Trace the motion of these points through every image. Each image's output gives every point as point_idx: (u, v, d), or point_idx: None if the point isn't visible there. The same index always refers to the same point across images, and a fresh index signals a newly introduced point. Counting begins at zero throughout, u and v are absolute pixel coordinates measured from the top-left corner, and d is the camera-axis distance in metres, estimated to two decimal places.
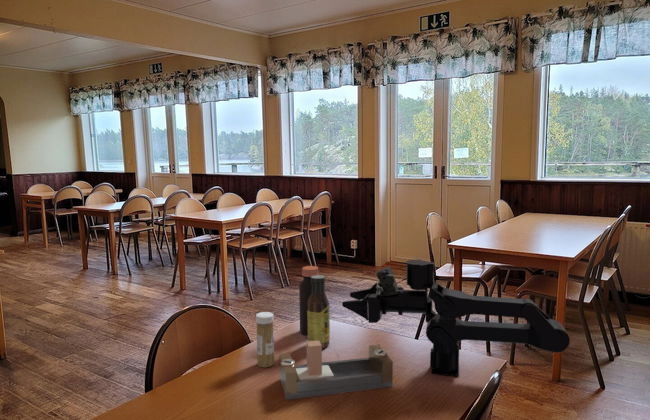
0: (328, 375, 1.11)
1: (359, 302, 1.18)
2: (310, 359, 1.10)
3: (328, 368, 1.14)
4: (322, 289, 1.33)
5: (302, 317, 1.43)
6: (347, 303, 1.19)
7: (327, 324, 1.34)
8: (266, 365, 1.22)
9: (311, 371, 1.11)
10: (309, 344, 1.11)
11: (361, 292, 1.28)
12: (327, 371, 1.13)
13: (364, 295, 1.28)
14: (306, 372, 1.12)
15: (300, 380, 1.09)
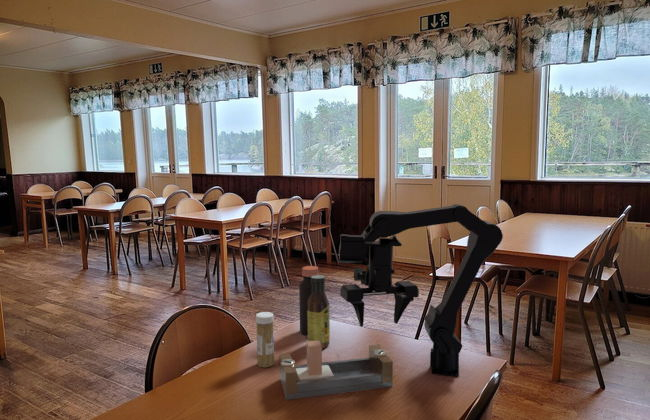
0: (328, 375, 1.11)
1: (354, 307, 1.18)
2: (310, 359, 1.10)
3: (328, 368, 1.14)
4: (322, 289, 1.33)
5: (302, 317, 1.43)
6: (358, 320, 1.18)
7: (327, 324, 1.34)
8: (266, 365, 1.22)
9: (311, 371, 1.11)
10: (309, 344, 1.11)
11: (395, 310, 1.21)
12: (327, 371, 1.13)
13: (396, 308, 1.20)
14: (306, 372, 1.12)
15: (300, 380, 1.09)
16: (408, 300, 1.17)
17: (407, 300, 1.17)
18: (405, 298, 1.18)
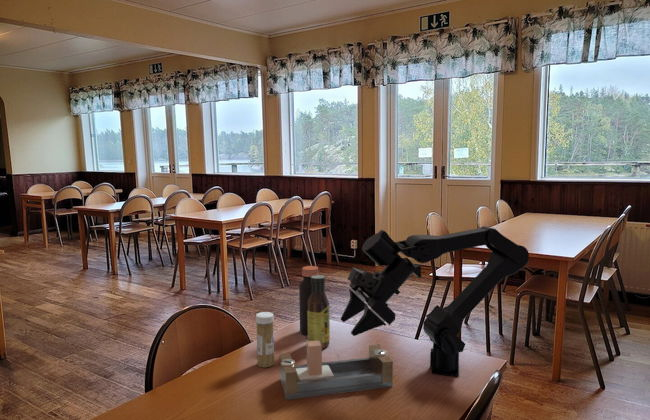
0: (328, 375, 1.11)
1: (365, 319, 1.07)
2: (310, 359, 1.10)
3: (328, 368, 1.14)
4: (322, 289, 1.33)
5: (302, 317, 1.43)
6: (356, 329, 1.08)
7: (327, 324, 1.34)
8: (266, 365, 1.22)
9: (311, 371, 1.11)
10: (309, 344, 1.11)
11: (348, 309, 1.18)
12: (327, 371, 1.13)
13: (352, 309, 1.18)
14: (306, 372, 1.12)
15: (300, 380, 1.09)
16: None
17: None
18: (365, 303, 1.20)
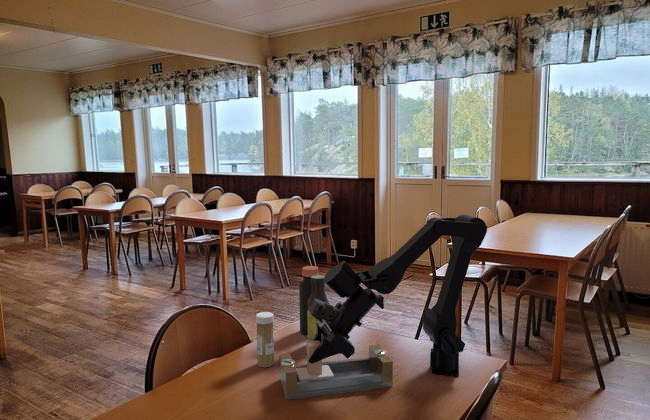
0: (328, 375, 1.11)
1: (322, 347, 1.09)
2: None
3: (328, 368, 1.14)
4: (322, 289, 1.33)
5: (302, 317, 1.43)
6: (313, 357, 1.10)
7: None
8: (266, 365, 1.22)
9: (311, 371, 1.11)
10: (309, 344, 1.11)
11: None
12: (327, 371, 1.13)
13: None
14: (306, 372, 1.12)
15: (300, 380, 1.09)
16: None
17: None
18: None
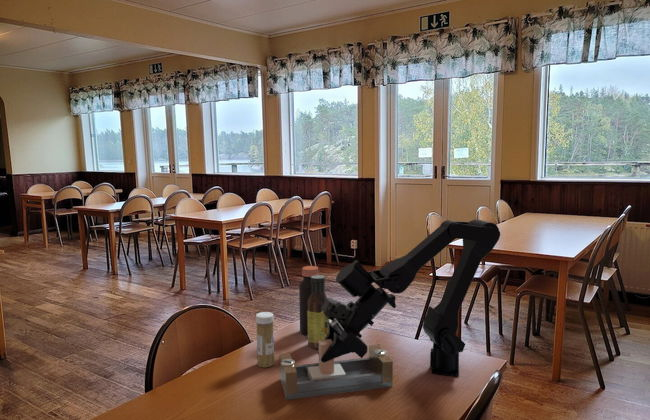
0: (341, 373, 1.12)
1: (334, 346, 1.10)
2: None
3: (340, 367, 1.15)
4: (322, 289, 1.33)
5: (302, 317, 1.43)
6: (325, 356, 1.10)
7: None
8: (266, 365, 1.22)
9: (323, 370, 1.12)
10: (321, 343, 1.12)
11: None
12: (339, 369, 1.14)
13: None
14: (318, 371, 1.13)
15: (312, 379, 1.10)
16: None
17: None
18: None
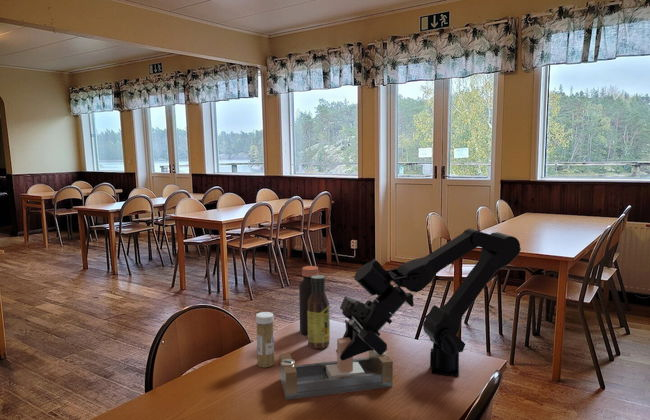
0: (359, 371, 1.13)
1: (353, 344, 1.11)
2: None
3: (358, 365, 1.16)
4: (322, 289, 1.33)
5: (302, 317, 1.43)
6: (344, 354, 1.11)
7: (327, 324, 1.34)
8: (266, 365, 1.22)
9: (342, 368, 1.13)
10: (340, 341, 1.13)
11: None
12: (357, 367, 1.15)
13: None
14: (337, 369, 1.14)
15: (332, 376, 1.11)
16: None
17: None
18: None
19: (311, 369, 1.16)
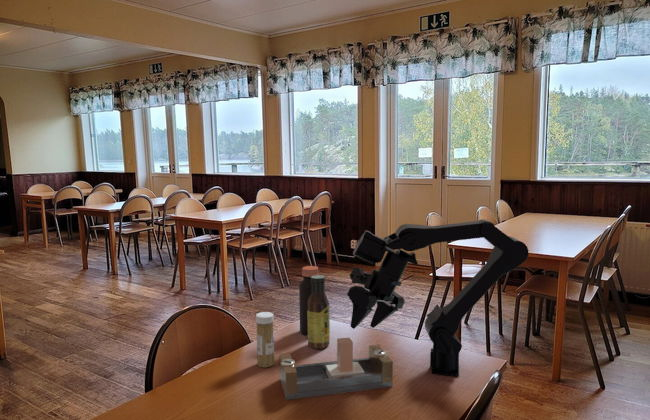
0: (359, 371, 1.13)
1: (354, 308, 1.15)
2: (341, 356, 1.12)
3: (358, 365, 1.16)
4: (322, 289, 1.33)
5: (302, 317, 1.43)
6: (352, 321, 1.16)
7: (327, 324, 1.34)
8: (266, 365, 1.22)
9: (342, 368, 1.13)
10: (340, 341, 1.13)
11: (375, 314, 1.23)
12: (357, 367, 1.15)
13: (379, 314, 1.23)
14: (337, 369, 1.14)
15: (332, 376, 1.11)
16: (395, 310, 1.22)
17: (395, 310, 1.22)
18: (392, 307, 1.22)
19: (311, 369, 1.16)
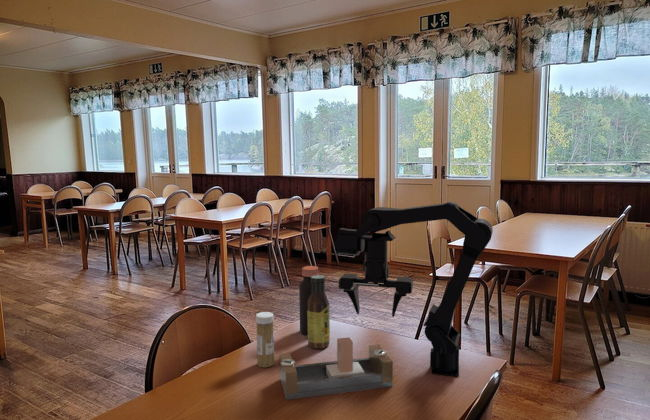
0: (359, 371, 1.13)
1: None
2: (341, 356, 1.12)
3: (358, 365, 1.16)
4: (322, 289, 1.33)
5: (302, 317, 1.43)
6: None
7: (327, 324, 1.34)
8: (266, 365, 1.22)
9: (342, 368, 1.13)
10: (340, 341, 1.13)
11: None
12: (357, 367, 1.15)
13: None
14: (337, 369, 1.14)
15: (332, 376, 1.11)
16: (399, 295, 1.20)
17: (398, 295, 1.20)
18: (397, 293, 1.21)
19: (311, 369, 1.16)
